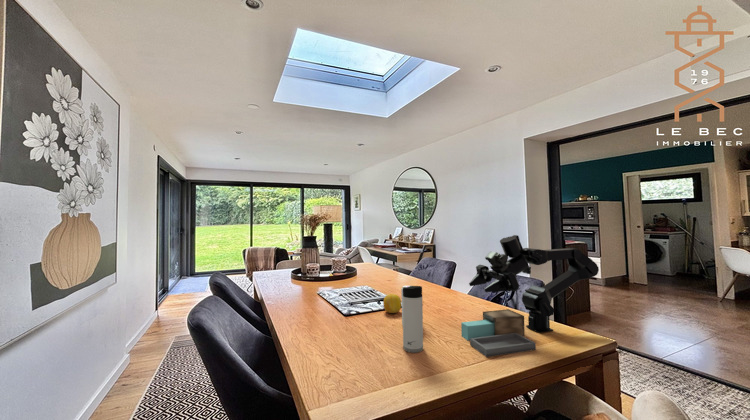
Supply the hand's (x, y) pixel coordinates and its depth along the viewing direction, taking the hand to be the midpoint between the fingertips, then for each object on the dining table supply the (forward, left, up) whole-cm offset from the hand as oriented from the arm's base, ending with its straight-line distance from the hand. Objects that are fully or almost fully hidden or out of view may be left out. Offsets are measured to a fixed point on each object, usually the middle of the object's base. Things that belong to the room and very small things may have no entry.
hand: (477, 287), depth 105 cm
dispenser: (-10, 0, -17) cm, 20 cm away
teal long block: (-1, 0, -17) cm, 17 cm away
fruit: (+20, -34, -17) cm, 43 cm away
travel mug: (+25, +3, -17) cm, 31 cm away
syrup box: (+18, -18, -17) cm, 31 cm away
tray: (-2, +10, -17) cm, 20 cm away
